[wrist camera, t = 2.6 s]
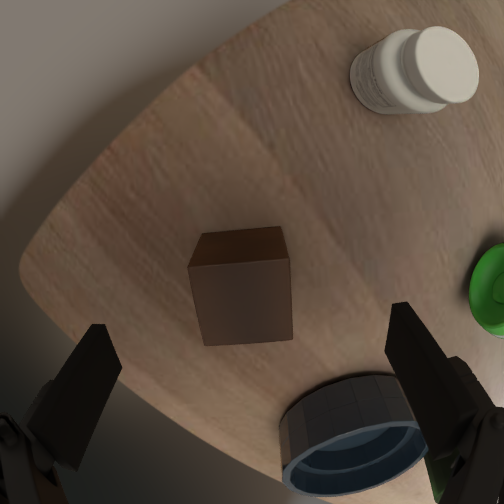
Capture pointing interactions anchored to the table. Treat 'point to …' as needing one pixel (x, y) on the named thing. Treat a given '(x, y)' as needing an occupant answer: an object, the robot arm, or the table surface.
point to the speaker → (489, 291)
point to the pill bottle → (415, 72)
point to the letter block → (242, 287)
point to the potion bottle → (440, 472)
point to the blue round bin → (349, 438)
